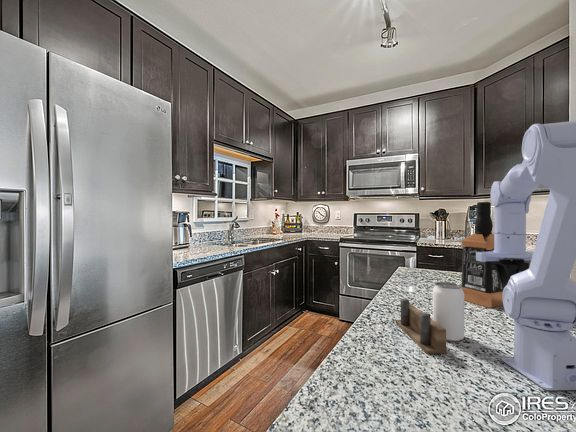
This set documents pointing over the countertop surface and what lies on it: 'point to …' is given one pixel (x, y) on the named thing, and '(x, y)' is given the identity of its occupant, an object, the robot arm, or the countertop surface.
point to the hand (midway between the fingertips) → (509, 292)
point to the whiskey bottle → (480, 263)
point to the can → (449, 309)
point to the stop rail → (422, 329)
